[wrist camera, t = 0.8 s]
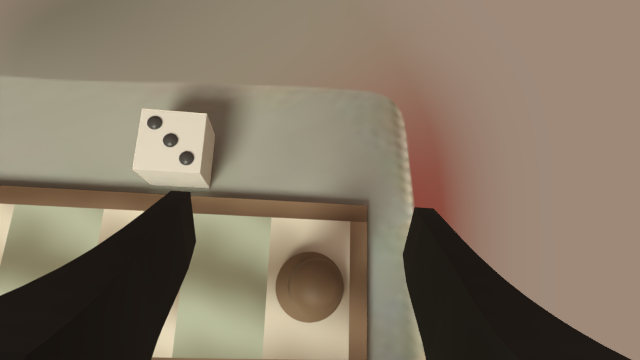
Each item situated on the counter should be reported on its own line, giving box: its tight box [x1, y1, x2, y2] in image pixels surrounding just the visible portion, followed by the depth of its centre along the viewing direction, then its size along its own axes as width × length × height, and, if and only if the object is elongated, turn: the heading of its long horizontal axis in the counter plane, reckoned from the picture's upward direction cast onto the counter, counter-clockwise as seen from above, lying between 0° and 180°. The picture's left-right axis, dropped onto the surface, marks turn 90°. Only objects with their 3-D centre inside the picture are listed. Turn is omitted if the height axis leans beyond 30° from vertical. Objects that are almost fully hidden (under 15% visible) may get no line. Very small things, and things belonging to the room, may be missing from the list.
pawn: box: [275, 252, 344, 323], centre depth 23 cm, size 4×4×6 cm
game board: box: [0, 185, 367, 360], centre depth 26 cm, size 11×30×1 cm, turn 88°
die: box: [132, 109, 215, 188], centre depth 27 cm, size 4×4×4 cm
